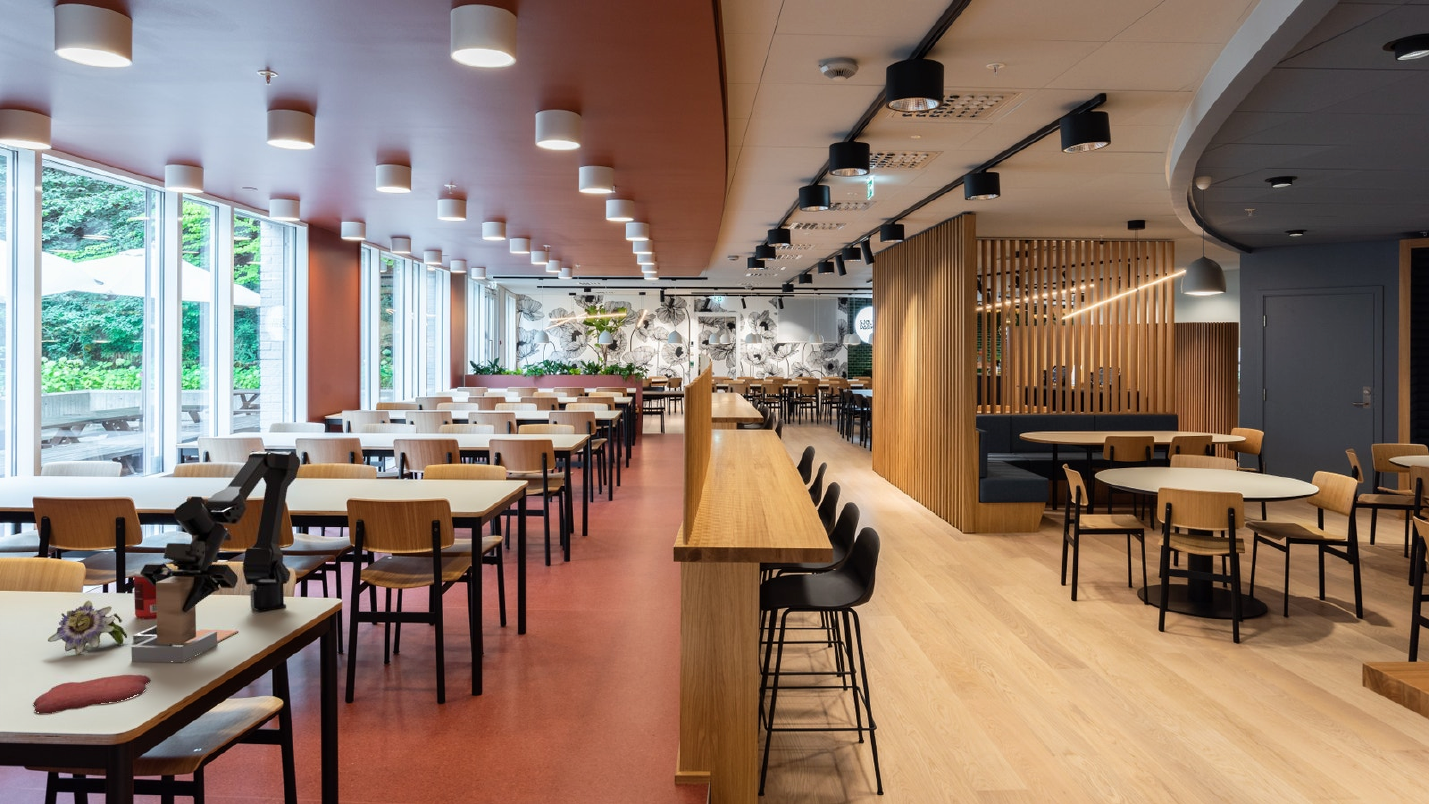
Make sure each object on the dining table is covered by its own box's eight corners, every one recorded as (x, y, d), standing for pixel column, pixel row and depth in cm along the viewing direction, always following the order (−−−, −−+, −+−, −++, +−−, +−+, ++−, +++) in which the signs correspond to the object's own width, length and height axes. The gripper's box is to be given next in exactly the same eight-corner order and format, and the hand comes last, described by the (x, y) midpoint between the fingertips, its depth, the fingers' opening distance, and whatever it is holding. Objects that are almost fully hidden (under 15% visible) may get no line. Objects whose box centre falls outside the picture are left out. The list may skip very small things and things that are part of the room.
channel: (168, 643, 190) (168, 630, 189) (217, 645, 189) (217, 631, 189) (131, 661, 179) (131, 646, 178) (183, 662, 178) (182, 648, 178)
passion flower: (81, 678, 184) (37, 640, 178) (90, 653, 193) (49, 617, 188) (131, 644, 186) (89, 606, 181) (138, 621, 196) (99, 584, 191)
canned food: (181, 610, 214) (179, 566, 214) (157, 620, 207) (155, 574, 206) (152, 609, 215) (150, 565, 215) (127, 619, 207) (125, 573, 207)
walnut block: (173, 636, 187) (172, 576, 186) (196, 637, 187) (194, 577, 186) (157, 643, 182) (155, 582, 181) (180, 644, 182) (178, 583, 181)
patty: (26, 719, 151) (25, 708, 151) (41, 692, 163) (40, 682, 163) (146, 701, 159) (146, 690, 159) (152, 676, 172) (151, 666, 171)
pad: (200, 631, 198) (200, 629, 198) (238, 632, 198) (238, 630, 198) (173, 644, 190) (173, 642, 190) (212, 645, 189) (212, 643, 189)
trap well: (158, 630, 199) (158, 624, 199) (192, 631, 198) (192, 625, 198) (133, 642, 191) (133, 635, 191) (168, 643, 190) (168, 636, 190)
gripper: (145, 526, 187) (107, 590, 177) (228, 527, 186) (195, 592, 176) (171, 554, 196) (137, 617, 185) (251, 555, 195) (221, 619, 184)
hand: (171, 611), depth 182 cm, fingers closed on walnut block, 5 cm apart
